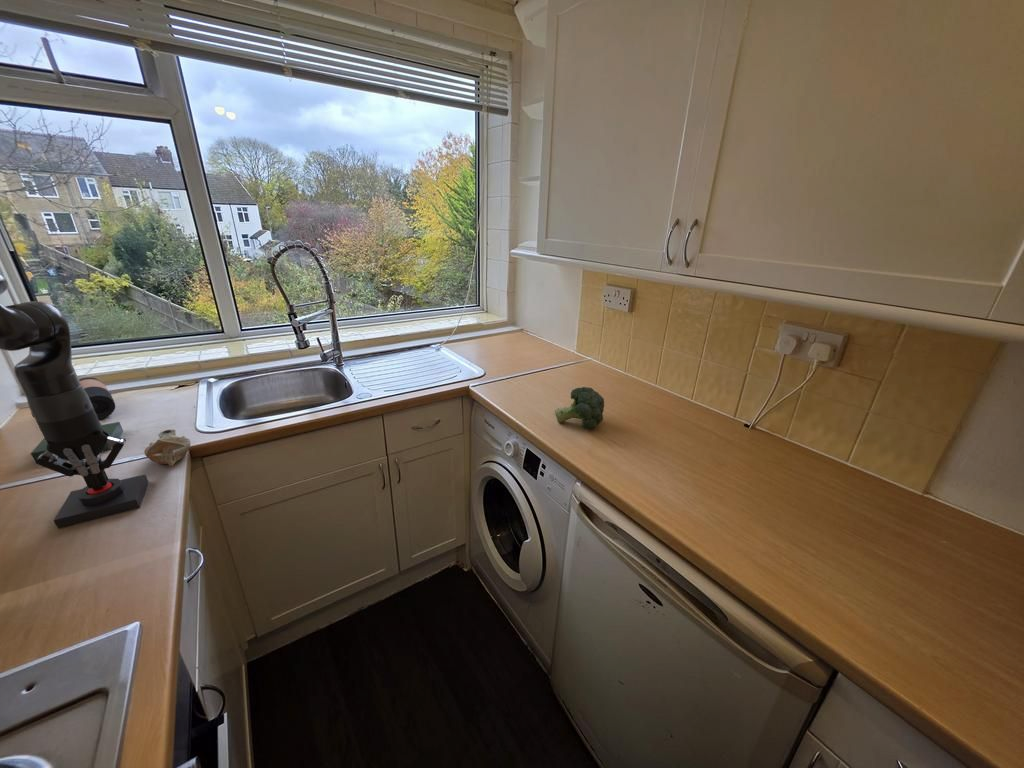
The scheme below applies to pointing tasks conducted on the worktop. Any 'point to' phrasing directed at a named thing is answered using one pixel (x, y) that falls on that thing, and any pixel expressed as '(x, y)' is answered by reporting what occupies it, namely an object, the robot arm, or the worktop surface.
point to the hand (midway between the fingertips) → (100, 487)
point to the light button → (92, 492)
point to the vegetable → (583, 408)
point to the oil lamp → (168, 448)
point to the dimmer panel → (114, 432)
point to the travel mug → (98, 396)
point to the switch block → (102, 501)
